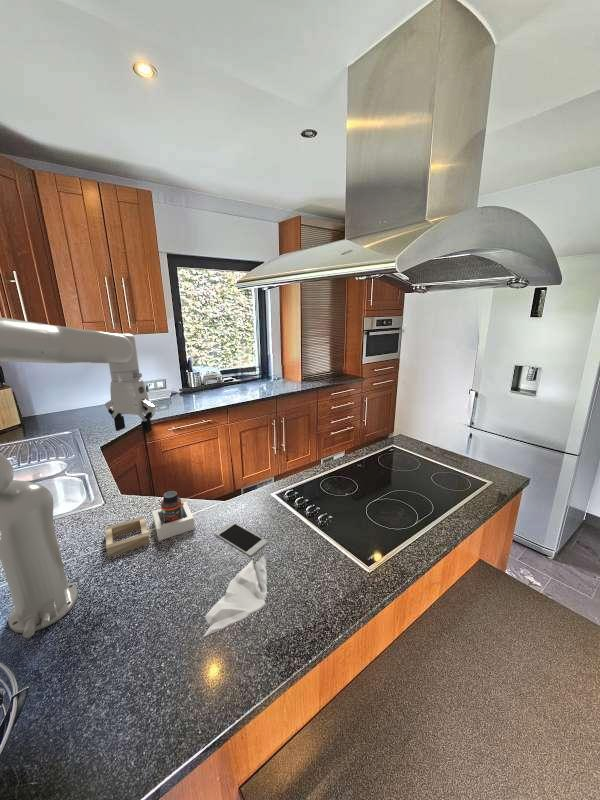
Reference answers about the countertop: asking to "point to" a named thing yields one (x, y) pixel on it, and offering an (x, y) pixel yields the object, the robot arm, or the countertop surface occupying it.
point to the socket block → (173, 523)
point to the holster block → (130, 542)
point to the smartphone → (241, 538)
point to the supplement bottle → (171, 507)
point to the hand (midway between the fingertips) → (133, 430)
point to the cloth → (240, 597)
